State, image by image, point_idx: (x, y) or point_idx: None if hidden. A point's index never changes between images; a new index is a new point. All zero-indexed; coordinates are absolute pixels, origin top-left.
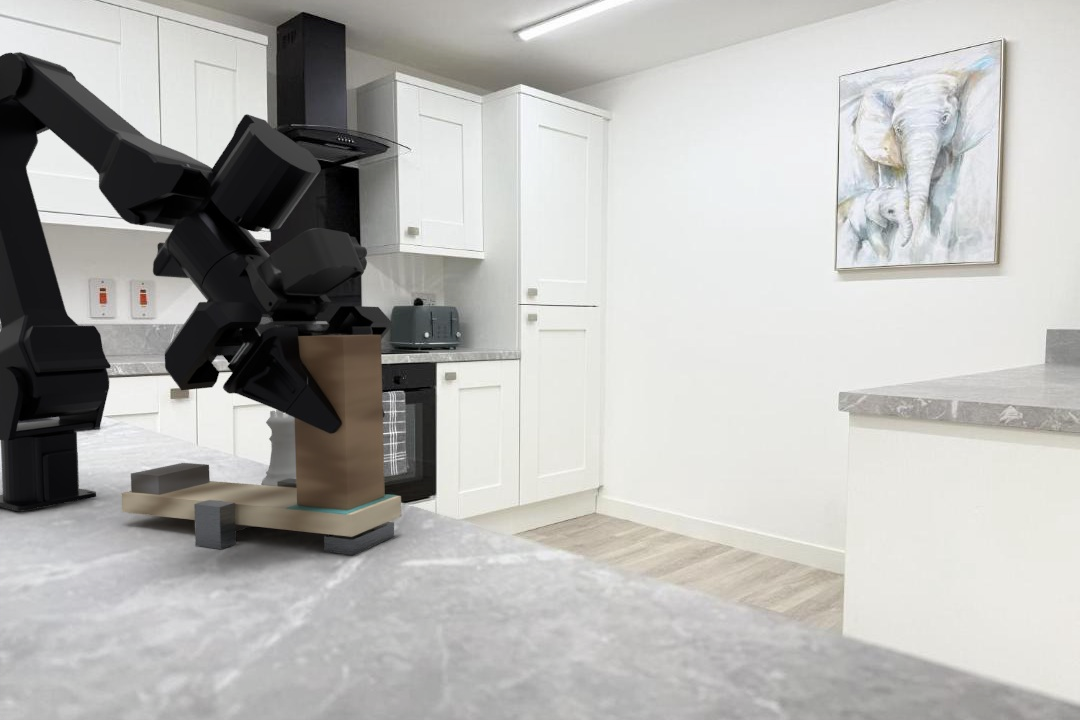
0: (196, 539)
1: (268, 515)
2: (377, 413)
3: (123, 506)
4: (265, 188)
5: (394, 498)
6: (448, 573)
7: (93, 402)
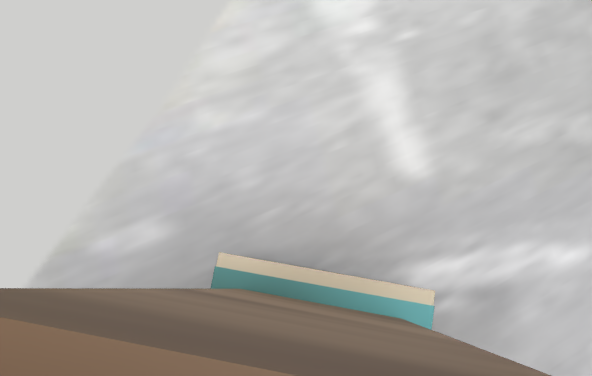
0: None
1: None
2: (219, 296)
3: None
4: None
5: (248, 257)
6: (453, 73)
7: None
